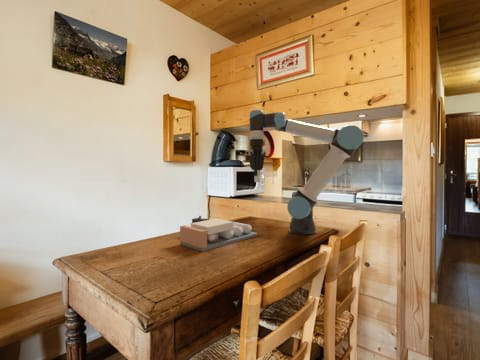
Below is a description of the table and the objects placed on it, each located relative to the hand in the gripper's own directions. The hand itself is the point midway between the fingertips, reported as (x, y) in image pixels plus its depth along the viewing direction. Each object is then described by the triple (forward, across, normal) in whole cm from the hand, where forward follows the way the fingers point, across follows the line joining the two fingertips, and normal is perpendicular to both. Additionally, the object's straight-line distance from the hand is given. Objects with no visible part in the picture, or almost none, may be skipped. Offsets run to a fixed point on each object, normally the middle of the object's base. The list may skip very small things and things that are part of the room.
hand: (257, 181), depth 149 cm
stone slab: (+23, +27, -7) cm, 36 cm away
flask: (+30, +21, -25) cm, 44 cm away
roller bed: (+29, +20, -7) cm, 36 cm away
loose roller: (+27, +29, -7) cm, 40 cm away
